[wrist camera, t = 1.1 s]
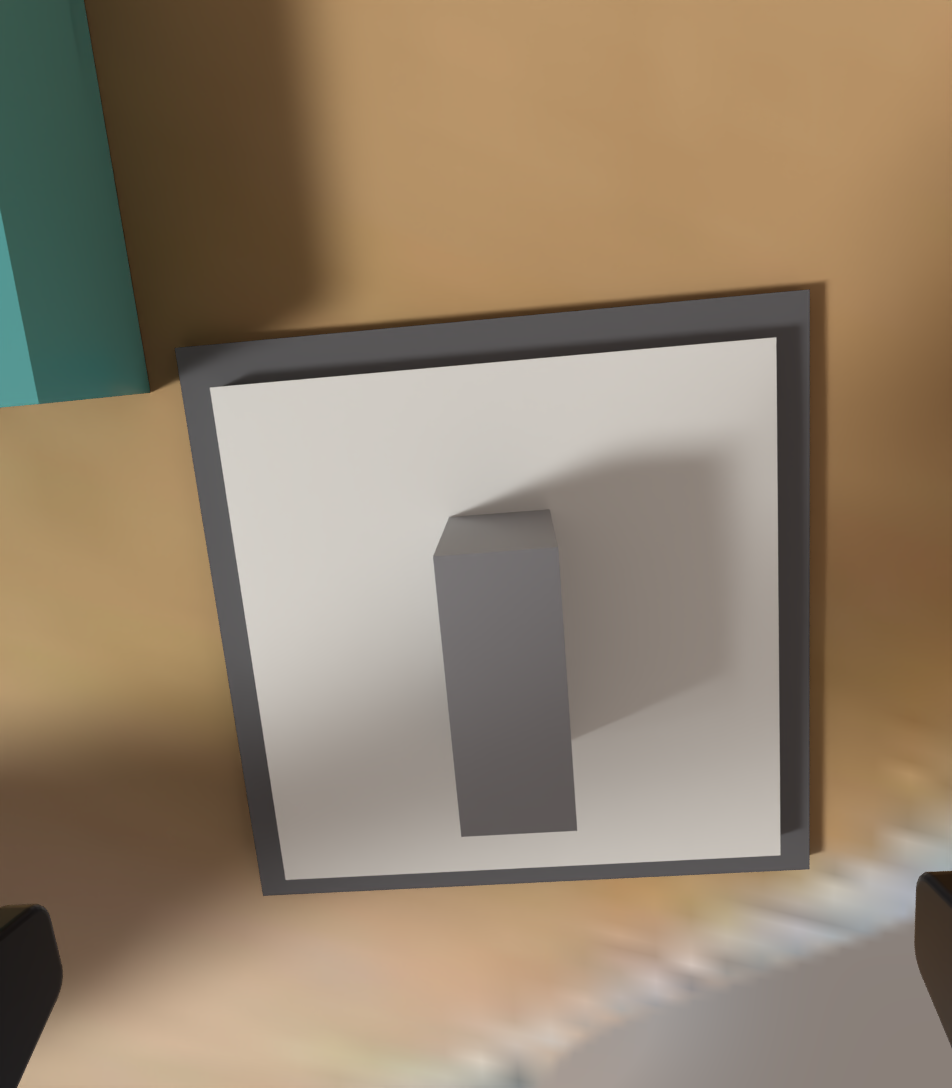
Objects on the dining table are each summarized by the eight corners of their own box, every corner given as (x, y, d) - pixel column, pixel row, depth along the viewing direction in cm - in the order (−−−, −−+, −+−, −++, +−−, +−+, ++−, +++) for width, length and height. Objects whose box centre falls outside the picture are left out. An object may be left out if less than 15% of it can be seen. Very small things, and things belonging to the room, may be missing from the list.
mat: (803, 858, 23) (809, 869, 22) (268, 884, 24) (263, 895, 23) (802, 290, 20) (809, 289, 19) (182, 348, 20) (174, 348, 20)
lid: (771, 838, 22) (839, 967, 17) (293, 862, 23) (236, 991, 18) (765, 338, 19) (845, 332, 15) (221, 386, 20) (132, 396, 15)
